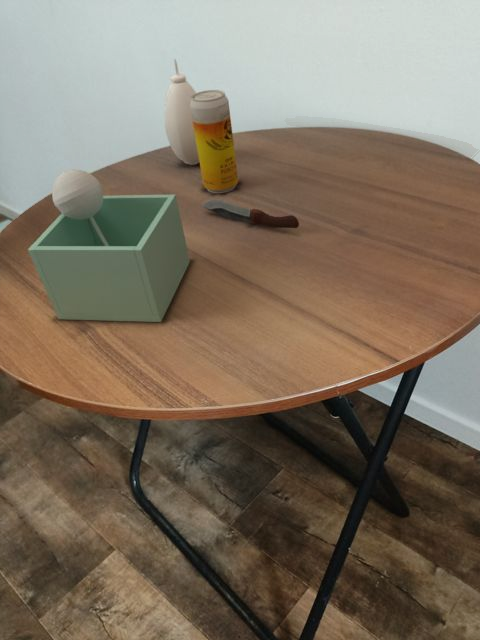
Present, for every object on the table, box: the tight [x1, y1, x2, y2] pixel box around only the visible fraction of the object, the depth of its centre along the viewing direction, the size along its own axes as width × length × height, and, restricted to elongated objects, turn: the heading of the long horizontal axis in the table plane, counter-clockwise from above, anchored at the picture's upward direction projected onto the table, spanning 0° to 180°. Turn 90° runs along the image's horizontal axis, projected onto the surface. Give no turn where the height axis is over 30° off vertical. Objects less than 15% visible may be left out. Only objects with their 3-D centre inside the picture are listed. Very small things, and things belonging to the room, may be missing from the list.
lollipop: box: [51, 168, 109, 246], centre depth 65 cm, size 6×6×15 cm
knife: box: [200, 198, 300, 229], centre depth 79 cm, size 18×2×3 cm, turn 55°
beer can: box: [190, 89, 239, 194], centre depth 86 cm, size 6×6×15 cm
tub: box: [27, 194, 191, 323], centre depth 66 cm, size 14×14×10 cm
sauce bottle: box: [163, 58, 200, 166], centre depth 94 cm, size 8×8×18 cm
